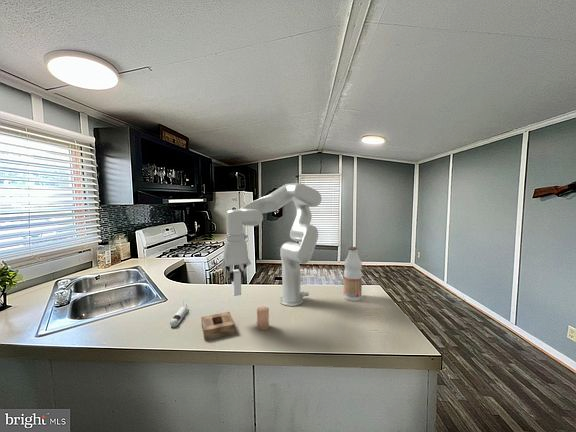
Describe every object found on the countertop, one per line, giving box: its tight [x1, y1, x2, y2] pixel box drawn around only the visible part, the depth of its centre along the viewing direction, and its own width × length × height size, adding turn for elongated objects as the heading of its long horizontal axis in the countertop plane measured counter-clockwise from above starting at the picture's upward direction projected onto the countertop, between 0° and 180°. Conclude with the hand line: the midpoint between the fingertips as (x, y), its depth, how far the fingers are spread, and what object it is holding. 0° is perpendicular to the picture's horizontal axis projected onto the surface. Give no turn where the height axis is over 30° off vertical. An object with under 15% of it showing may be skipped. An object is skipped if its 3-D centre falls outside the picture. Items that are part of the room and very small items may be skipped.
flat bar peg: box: [231, 268, 242, 297], centre depth 112 cm, size 3×5×10 cm, turn 24°
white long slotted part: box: [169, 299, 190, 328], centre depth 118 cm, size 18×5×7 cm, turn 4°
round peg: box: [256, 306, 270, 331], centre depth 109 cm, size 5×5×8 cm
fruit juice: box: [343, 246, 363, 302], centre depth 138 cm, size 9×9×28 cm
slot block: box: [201, 311, 236, 341], centre depth 107 cm, size 12×12×4 cm
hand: (236, 279), depth 111 cm, fingers closed on flat bar peg, 2 cm apart
